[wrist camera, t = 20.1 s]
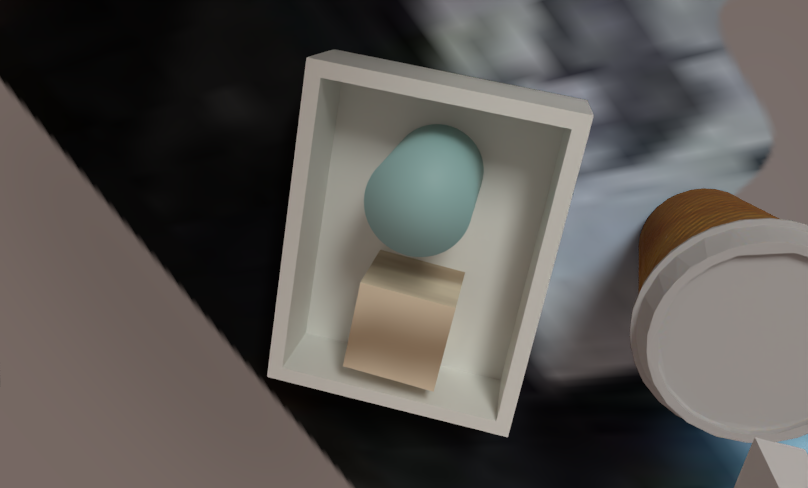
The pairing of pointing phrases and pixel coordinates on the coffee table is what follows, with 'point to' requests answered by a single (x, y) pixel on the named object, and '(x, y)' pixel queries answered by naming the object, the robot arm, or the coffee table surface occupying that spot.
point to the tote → (473, 254)
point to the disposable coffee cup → (724, 316)
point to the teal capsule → (425, 191)
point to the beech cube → (403, 319)
